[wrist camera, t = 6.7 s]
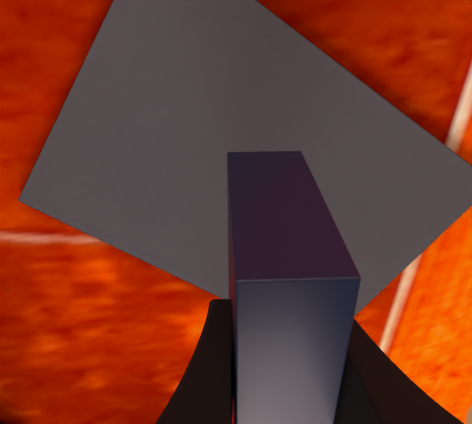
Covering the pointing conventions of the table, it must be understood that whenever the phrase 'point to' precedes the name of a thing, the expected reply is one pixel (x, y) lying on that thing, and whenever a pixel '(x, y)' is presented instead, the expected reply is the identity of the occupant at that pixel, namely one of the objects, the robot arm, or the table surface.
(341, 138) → the mat
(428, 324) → the table surface
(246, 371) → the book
